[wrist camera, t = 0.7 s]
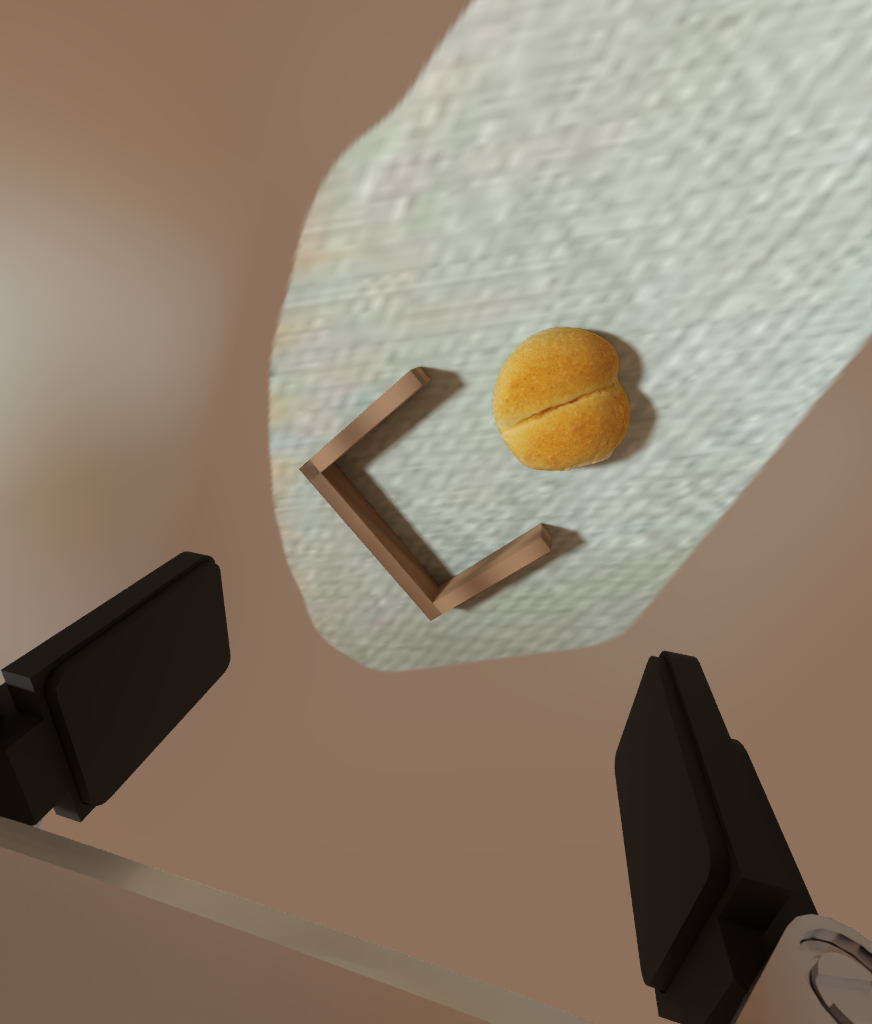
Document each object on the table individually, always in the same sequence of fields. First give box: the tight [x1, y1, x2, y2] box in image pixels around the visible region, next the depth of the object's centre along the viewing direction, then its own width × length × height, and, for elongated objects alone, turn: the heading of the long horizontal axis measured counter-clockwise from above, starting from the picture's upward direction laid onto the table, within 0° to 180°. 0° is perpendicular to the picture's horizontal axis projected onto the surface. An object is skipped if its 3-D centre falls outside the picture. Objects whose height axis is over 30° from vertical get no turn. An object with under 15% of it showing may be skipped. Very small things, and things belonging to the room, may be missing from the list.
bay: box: [299, 367, 551, 621], centre depth 35 cm, size 11×15×2 cm
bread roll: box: [493, 327, 630, 471], centre depth 30 cm, size 8×9×4 cm
